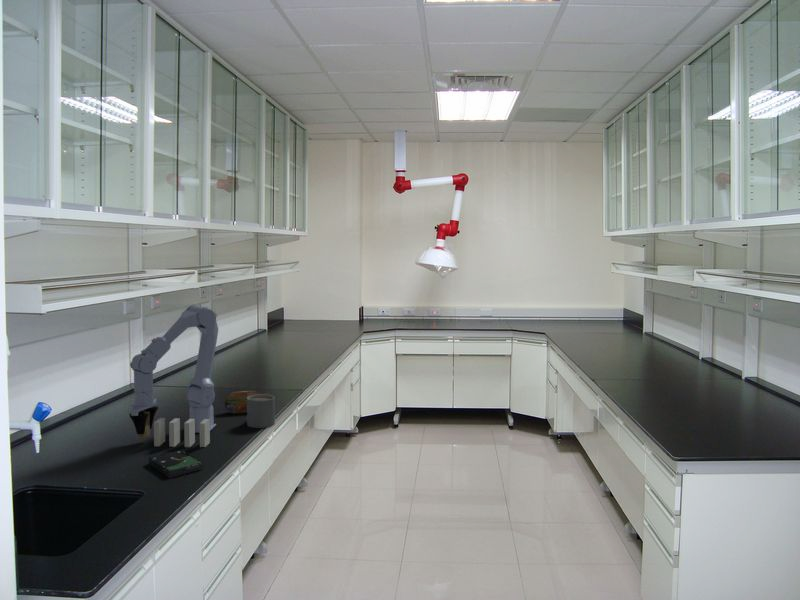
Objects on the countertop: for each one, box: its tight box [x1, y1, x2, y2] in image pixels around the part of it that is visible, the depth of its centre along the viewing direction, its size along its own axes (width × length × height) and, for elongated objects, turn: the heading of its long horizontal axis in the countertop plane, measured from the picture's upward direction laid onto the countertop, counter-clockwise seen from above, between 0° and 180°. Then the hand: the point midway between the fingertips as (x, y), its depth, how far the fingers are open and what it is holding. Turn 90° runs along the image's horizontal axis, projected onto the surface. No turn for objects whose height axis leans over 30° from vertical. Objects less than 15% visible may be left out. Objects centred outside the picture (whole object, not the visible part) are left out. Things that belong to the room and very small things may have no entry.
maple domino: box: [138, 411, 151, 441], centre depth 201 cm, size 2×5×8 cm, turn 179°
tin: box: [223, 390, 262, 415], centre depth 241 cm, size 15×3×8 cm, turn 111°
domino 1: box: [153, 417, 166, 447], centre depth 201 cm, size 2×5×8 cm, turn 179°
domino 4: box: [199, 419, 211, 448], centre depth 201 cm, size 2×5×8 cm, turn 179°
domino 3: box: [183, 418, 196, 448], centre depth 201 cm, size 2×5×8 cm, turn 179°
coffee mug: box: [246, 393, 276, 429], centre depth 227 cm, size 13×10×10 cm
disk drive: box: [148, 449, 204, 479], centre depth 181 cm, size 10×3×15 cm
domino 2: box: [168, 417, 181, 448], centre depth 201 cm, size 2×5×8 cm, turn 179°
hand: (144, 431), depth 201 cm, fingers closed on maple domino, 5 cm apart
